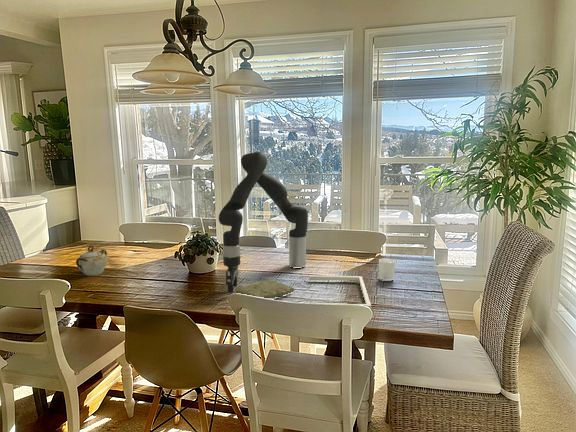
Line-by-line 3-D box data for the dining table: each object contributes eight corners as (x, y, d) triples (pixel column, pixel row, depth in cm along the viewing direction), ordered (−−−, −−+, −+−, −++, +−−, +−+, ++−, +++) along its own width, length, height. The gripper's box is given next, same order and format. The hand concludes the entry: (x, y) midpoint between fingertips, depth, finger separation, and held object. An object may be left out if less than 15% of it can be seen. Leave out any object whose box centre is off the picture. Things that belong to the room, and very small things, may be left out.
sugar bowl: (89, 280, 204) (87, 251, 202) (66, 277, 210) (64, 248, 207) (118, 269, 223) (116, 242, 220) (97, 266, 228) (94, 240, 225)
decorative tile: (235, 295, 185) (234, 287, 185) (268, 284, 199) (268, 277, 198) (262, 306, 172) (262, 298, 171) (296, 294, 186) (296, 287, 185)
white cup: (378, 282, 200) (379, 262, 199) (377, 277, 208) (378, 258, 206) (395, 282, 199) (396, 262, 198) (393, 277, 207) (394, 258, 205)
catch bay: (309, 281, 202) (309, 275, 202) (361, 282, 200) (361, 276, 200) (306, 311, 166) (306, 303, 165) (370, 312, 164) (371, 305, 163)
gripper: (226, 250, 191) (227, 284, 194) (219, 258, 177) (220, 294, 180) (242, 250, 190) (243, 284, 193) (236, 258, 176) (237, 295, 179)
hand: (232, 289), depth 186 cm, fingers open, 8 cm apart
